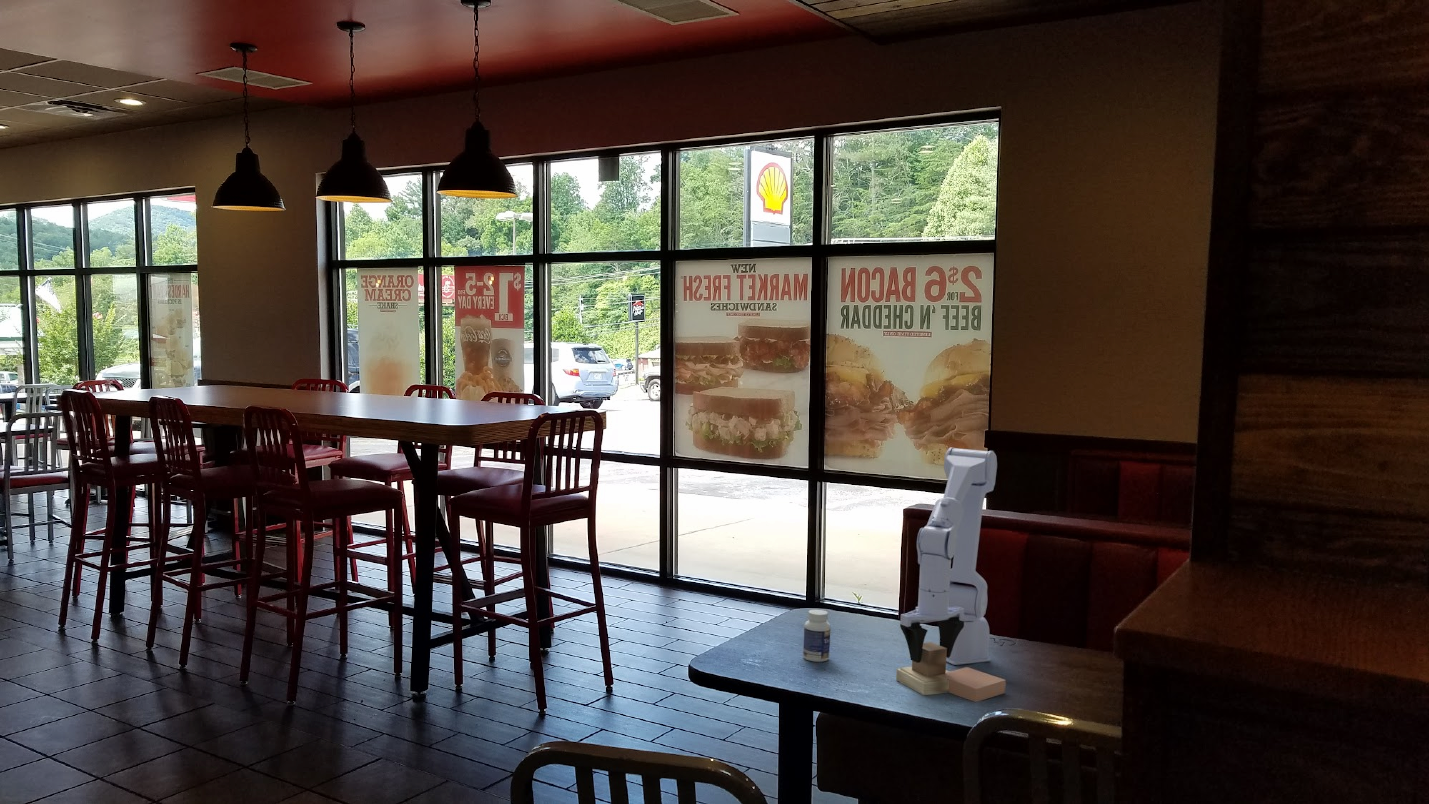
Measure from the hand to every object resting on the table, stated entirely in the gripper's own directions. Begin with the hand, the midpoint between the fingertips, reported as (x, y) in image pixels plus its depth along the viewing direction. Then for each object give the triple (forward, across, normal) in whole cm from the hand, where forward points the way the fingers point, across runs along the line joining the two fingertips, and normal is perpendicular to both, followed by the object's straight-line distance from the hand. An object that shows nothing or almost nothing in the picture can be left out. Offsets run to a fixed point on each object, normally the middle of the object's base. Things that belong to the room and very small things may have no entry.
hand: (930, 658), depth 194 cm
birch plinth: (+5, 0, 0) cm, 5 cm away
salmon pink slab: (+5, -5, +6) cm, 9 cm away
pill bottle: (+5, +10, -22) cm, 25 cm away
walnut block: (+3, 0, 0) cm, 3 cm away
